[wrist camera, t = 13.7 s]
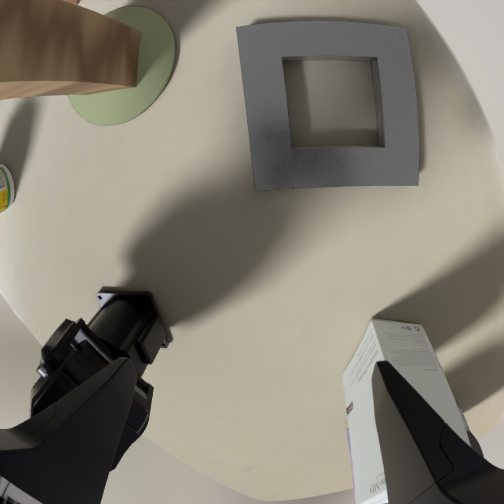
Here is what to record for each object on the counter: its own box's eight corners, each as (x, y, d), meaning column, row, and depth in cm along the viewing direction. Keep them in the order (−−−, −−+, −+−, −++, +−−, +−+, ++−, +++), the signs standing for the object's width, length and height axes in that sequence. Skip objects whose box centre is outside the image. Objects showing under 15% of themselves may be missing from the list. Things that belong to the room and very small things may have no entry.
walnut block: (136, 87, 17) (-17, 84, 5) (88, 94, 17) (-55, 110, 5) (141, 32, 15) (4, -15, 3) (92, 43, 15) (-43, 27, 4)
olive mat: (75, 138, 19) (72, 139, 19) (67, 36, 15) (64, 35, 15) (182, 108, 18) (180, 108, 17) (171, -9, 13) (169, -11, 13)
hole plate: (257, 186, 20) (255, 191, 18) (239, 33, 15) (235, 26, 14) (410, 180, 18) (418, 185, 17) (398, 33, 13) (406, 28, 12)
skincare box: (370, 315, 23) (411, 475, 10) (424, 322, 23) (480, 458, 10) (339, 377, 27) (350, 511, 14) (389, 380, 27) (413, 501, 13)
